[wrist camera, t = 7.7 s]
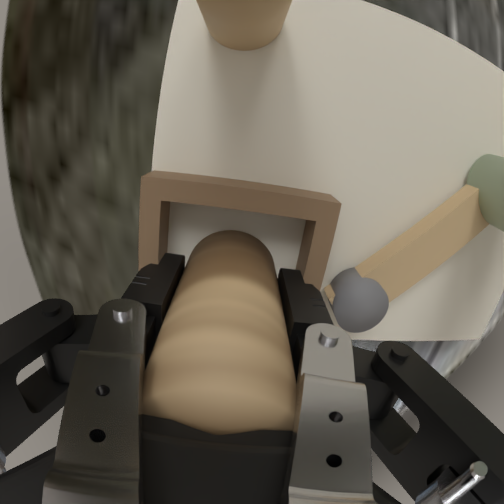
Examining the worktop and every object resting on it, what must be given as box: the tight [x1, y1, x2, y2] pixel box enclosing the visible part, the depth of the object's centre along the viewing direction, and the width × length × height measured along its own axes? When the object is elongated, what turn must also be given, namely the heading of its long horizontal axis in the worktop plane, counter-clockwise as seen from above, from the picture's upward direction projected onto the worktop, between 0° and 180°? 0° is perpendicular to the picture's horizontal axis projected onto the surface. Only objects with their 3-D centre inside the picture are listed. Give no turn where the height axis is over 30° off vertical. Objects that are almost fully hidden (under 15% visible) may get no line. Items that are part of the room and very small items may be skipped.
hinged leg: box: [324, 154, 504, 333], centre depth 8 cm, size 12×3×10 cm, turn 127°
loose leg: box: [142, 230, 296, 435], centre depth 9 cm, size 4×4×8 cm
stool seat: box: [139, 0, 504, 341], centre depth 10 cm, size 16×21×9 cm
